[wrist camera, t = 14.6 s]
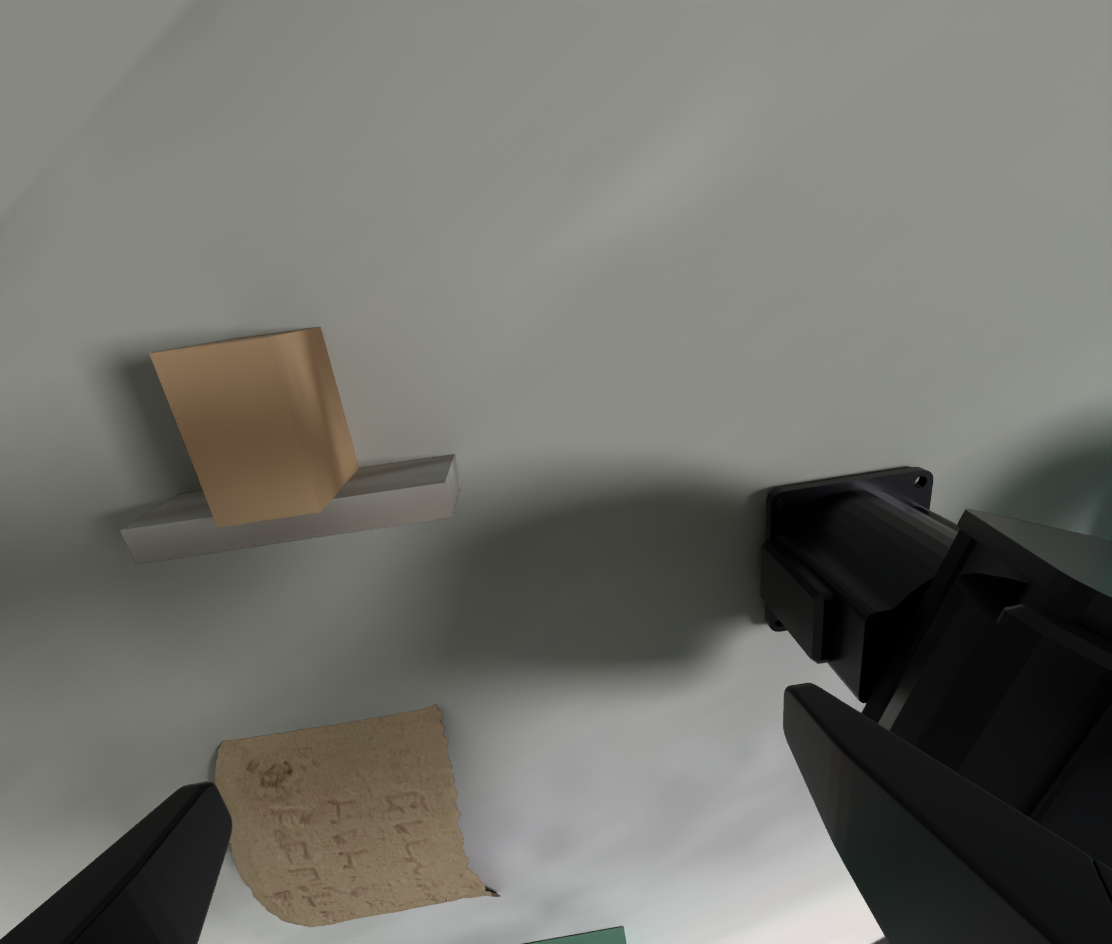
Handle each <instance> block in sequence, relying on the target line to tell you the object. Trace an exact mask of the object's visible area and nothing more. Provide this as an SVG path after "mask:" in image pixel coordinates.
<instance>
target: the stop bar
mask: <svg viewBox="0 0 1112 944" xmlns="http://www.w3.org/2000/svg"><path fill="white" fill-rule="evenodd" d="M529 944H626V938H625V933H624V927H619V928H613V929H607V930H602V931H596V932H591V933H585V934H579V935H574V936H568V937H563V938H557V939H551V940H546V941H540V942H535V943H529Z"/></svg>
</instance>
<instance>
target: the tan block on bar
mask: <svg viewBox="0 0 1112 944" xmlns="http://www.w3.org/2000/svg"><path fill="white" fill-rule="evenodd" d="M149 354H150V357H151V359H152V362H153V364H154V367H155V369H156V372H157V375H158V377H159V380H160V382H161V385H162V387H163V390H164V392H165V395H166V398H167V400H168V403H169V405H170V408H171V410H172V413H173V415H174V418H175V421H176V423H177V426H178V428H179V431H180V433H181V436H182V438H183V441H184V444H185V446H186V449H187V451H188V454H189V456H190V459H191V461H192V464H193V467H194V469H195V472H196V474H197V477H198V479H199V482H200V484H201V487H202V489H203V491H198V492H191V493H185V494H178V495H177V496H175V497H173V498H172V499H170V500H168V501H167V502H165V503H164V504H162V505H160V506H159V507H157V508H155V509H154V510H152V511H150V512H149V513H147V514H146V515H144V516H142V517H141V518H139V519H137V520H136V521H134V522H132V523H131V524H129V525H128V526H126V527H124V528H123V529H121V530H120V532H121V534H122V537H123V539H124V541H125V543H126V545H127V547H128V549H129V552H130V554H131V556H132V558H133V560H134V562H135V564H142V563H149V562H155V561H162V560H169V559H175V558H182V557H189V556H196V555H202V554H209V553H216V552H222V551H229V550H236V549H243V548H249V547H256V546H263V545H269V544H276V543H283V542H289V541H296V540H303V539H310V538H316V537H323V536H330V535H336V534H343V533H350V532H357V531H363V530H370V529H377V528H383V527H390V526H397V525H404V524H410V523H417V522H424V521H430V520H437V519H444V518H450V517H452V516H453V513H454V509H455V505H456V501H457V498H458V494H459V490H460V486H461V482H460V477H459V472H458V467H457V462H456V457H455V454H452V455H446V456H439V457H432V458H425V459H418V460H411V461H404V462H397V463H391V464H384V465H377V466H370V467H363V468H359V465H358V462H357V458H356V455H355V451H354V447H353V444H352V440H351V436H350V433H349V429H348V425H347V422H346V418H345V415H344V411H343V407H342V404H341V400H340V396H339V393H338V389H337V385H336V382H335V378H334V374H333V371H332V367H331V364H330V360H329V356H328V353H327V349H326V345H325V342H324V338H323V334H322V331H321V327H317V328H309V329H302V330H295V331H287V332H280V333H273V334H265V335H258V336H251V337H243V338H236V339H229V340H223V341H217V342H211V343H206V344H200V345H194V346H188V347H183V348H177V349H171V350H165V351H160V352H154V353H149Z"/></svg>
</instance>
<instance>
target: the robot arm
mask: <svg viewBox="0 0 1112 944" xmlns="http://www.w3.org/2000/svg"><path fill="white" fill-rule="evenodd" d="M918 477H920V478H919V481H918V482H917V483H916V484H914V483H915V480H916V479H917V478H918ZM932 486H933V475H932V474H931V472H929V471H927V470H925V469H923V468H920V467H911V468H904V469H898V470H891V471H885V472H878V473H871V474H865V475H858V476H852V477H845V478H839V479H832V480H825V481H819V482H812V483H806V484H799V485H793V486H786V487H779V488H776V489H773V490H772V491H771V492H770V493H769V494H768V496H767V499H766V539H765V541H764V542H763V544H762V545H761V589H760V595H761V598H762V599H763V601H764V602H765V622H766V623H767V624H768V626H769V627H770V628H771V629H772V630H773V631H776V632H780V631H787V630H788V632H789V633H790V634H791V635H792V637H793V638H794V639H795V640H796V641H797V643H798V644H799V645H800V646H801V648H802V649H803V650H804V651H805V653H806V654H807V655H808V656H809V658H810V659H812V660H813V661H815V662H816V663H817V664H820V663H826V662H827V663H828V664H829V666H830V667H831V668H832V669H833V670H834V671H835V673H836V674H837V675H838V676H839V677H840V679H841V680H842V681H843V682H844V683H845V684H846V686H847V687H848V688H849V689H850V690H851V692H852V693H853V694H854V695H855V696H856V697H857V699H858V700H859V701H860V702H862V703H866V705H865V707H864V709H863V711H862V712H861V713H860V712H859V711H857V710H855V709H854V708H852V707H851V706H849V705H847V704H846V703H844V702H842V701H841V700H839V699H838V698H836V697H834V696H833V695H831V694H830V693H828V692H826V691H825V690H823V689H822V688H820V687H818V686H817V685H815V684H812V683H803V684H797V685H791V686H788V687H787V688H786V689H785V691H784V709H783V729H784V734H785V737H786V740H787V743H788V745H789V747H790V749H791V752H792V754H793V756H794V758H795V760H796V763H797V765H798V767H799V769H800V772H801V774H802V776H803V778H804V780H805V783H806V785H807V787H808V789H809V792H810V794H811V796H812V798H813V800H814V803H815V805H816V807H817V809H818V812H819V814H820V816H821V818H822V820H823V823H824V825H825V827H826V829H827V831H828V833H829V836H830V838H831V840H832V842H833V844H834V846H835V848H836V850H837V852H838V853H839V855H840V857H841V859H842V861H843V863H844V864H845V866H846V868H847V870H848V872H849V873H850V875H851V877H852V879H853V880H854V882H855V884H856V886H857V888H858V889H859V891H860V893H861V895H862V896H863V898H864V900H865V902H866V903H867V905H868V907H869V909H870V911H871V912H872V914H873V916H874V918H875V919H876V921H877V923H878V925H879V926H880V928H881V930H882V932H883V934H884V935H885V937H886V939H887V941H888V942H889V944H1112V543H1111V542H1108V541H1106V540H1103V539H1100V538H1097V537H1093V536H1089V535H1084V534H1080V533H1075V532H1071V531H1066V530H1062V529H1057V528H1052V527H1048V526H1043V525H1039V524H1034V523H1030V522H1025V521H1020V520H1016V519H1011V518H1007V517H1002V516H998V515H993V514H988V513H984V512H979V511H975V510H970V509H965V511H964V513H963V515H962V516H961V518H960V520H959V522H958V524H955V523H953V522H951V521H949V520H947V519H945V518H943V517H942V516H940V515H938V514H936V513H934V512H932V511H930V510H929V509H930V501H931V494H932ZM783 497H785V499H784V502H783V503H782V504H780V505H777V502H778V500H779V499H780V498H783ZM777 618H778V619H779V620H778V621H775V620H776V619H777ZM231 834H232V817H231V814H230V812H229V810H228V808H227V806H226V804H225V802H224V800H223V798H222V796H221V794H220V792H219V790H218V788H217V786H216V785H215V784H214V783H212V782H202V783H196V784H190V785H186V786H183V787H181V788H179V789H178V790H177V791H175V792H174V793H173V794H172V795H171V796H170V797H168V798H167V799H166V800H165V801H164V802H162V803H161V804H160V805H159V806H158V807H157V808H155V809H154V810H153V811H152V812H151V813H149V814H148V815H147V816H146V817H145V818H144V819H142V820H141V821H140V822H139V823H138V824H136V825H135V826H134V827H133V828H132V829H131V830H129V831H128V832H127V833H126V834H125V835H123V836H122V837H121V838H120V839H119V840H118V841H116V842H115V843H114V844H113V845H112V846H110V847H109V848H108V849H107V850H106V851H105V852H103V853H102V854H101V855H100V856H99V857H97V858H96V859H95V860H94V861H93V862H91V863H90V864H89V865H88V866H87V867H86V868H84V869H83V870H82V871H81V872H80V873H78V874H77V875H76V876H75V877H74V878H73V879H71V880H70V881H69V882H68V883H67V884H65V885H64V886H63V887H62V888H61V889H60V890H58V891H57V892H56V893H55V894H54V895H52V896H51V897H50V898H49V899H48V900H47V901H45V902H44V903H43V904H42V905H41V906H39V907H38V908H37V909H36V910H35V911H34V912H32V913H31V914H30V915H29V916H28V917H26V918H25V919H24V920H23V921H22V922H20V923H19V924H18V925H17V926H16V927H15V928H13V929H12V930H11V931H10V932H9V933H7V934H6V935H5V936H4V937H3V938H2V939H0V944H197V943H198V940H199V937H200V934H201V931H202V928H203V924H204V921H205V918H206V915H207V912H208V908H209V905H210V902H211V899H212V896H213V892H214V889H215V886H216V883H217V880H218V876H219V873H220V870H221V867H222V864H223V860H224V857H225V854H226V851H227V847H228V844H229V841H230V838H231Z"/></svg>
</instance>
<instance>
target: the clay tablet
mask: <svg viewBox="0 0 1112 944" xmlns="http://www.w3.org/2000/svg"><path fill="white" fill-rule="evenodd" d="M441 717H442V714H441V712H440V711H439V710H438V709H437V706H436V704H435V705H432V706H430V707H427V708H424V709H422V710H415V711H408V712H404V713H399V714H394V715H389V716H384V717H377V718H370V719H364V720H359V721H354V722H349V723H343V724H337V725H331V726H325V727H316V728H309V729H302V730H296V731H290V732H286V733H278V734H271V735H264V736H257V737H251V738H245V739H237V740H228V741H222V744H221V746H220V748H219V749H218V759H217V760H216V762H215V782H214V783H215V785H216V786H217V788H218V790H219V792H220V794H221V796H222V798H223V800H224V802H225V804H226V806H227V808H228V810H229V812H230V814H231V817H232V834H231V838H230V841H229V843H230V844H231V845H232V848H231V850H232V853H233V857H234V861H235V863H236V866H237V869H238V871H239V874H240V875H241V877H242V879H243V881H244V883H245V884H246V885H247V886H248V887H249V888H250V889H251V890H252V892H253V896H254V897H255V898H256V900H258V901H259V902H260V903H261V905H263V906H264V907H266V909H267V911H269V912H270V913H272V914H274V915H276V916H277V917H278V918H279V919H281V920H282V921H285V922H288V923H293V924H297V925H303V926H307V927H316V926H325V925H331V924H335V923H339V922H343V921H347V920H351V919H356V918H362V917H368V916H374V915H379V914H385V913H393V912H398V911H403V910H408V909H412V908H417V907H423V906H428V905H433V904H439V903H444V902H450V901H455V900H458V899H461V898H473V897H479V896H486V895H487V896H493V897H499V896H500V895H498V894H496V893H491V892H488V891H485V885H484V884H483V883H482V881H481V880H480V878H479V877H478V875H476V874H474V873H473V872H472V870H470V869H468V868H467V865H468V860H469V859H468V858H467V857H466V856H465V853H464V851H463V849H462V847H463V837H462V832H461V831H460V828H459V827H458V819H459V817H460V815H461V814H460V812H459V810H458V809H457V807H456V805H455V804H456V800H457V791H456V790H455V788H454V777H453V773H452V772H451V768H452V766H451V764H450V760H449V758H448V755H447V752H446V749H447V745H448V740H447V739H446V737H445V736H442V735H443V732H444V729H445V728H444V726H443V725H442V723H440V720H441Z"/></svg>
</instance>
